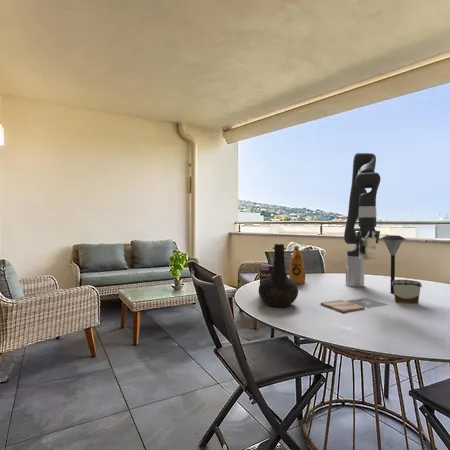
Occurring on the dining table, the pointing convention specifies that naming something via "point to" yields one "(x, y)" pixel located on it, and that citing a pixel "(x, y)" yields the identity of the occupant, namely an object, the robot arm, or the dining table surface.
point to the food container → (406, 291)
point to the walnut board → (342, 306)
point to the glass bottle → (278, 283)
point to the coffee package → (297, 267)
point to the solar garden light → (393, 252)
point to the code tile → (367, 302)
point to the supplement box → (265, 271)
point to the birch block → (369, 249)
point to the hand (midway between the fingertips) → (367, 253)
